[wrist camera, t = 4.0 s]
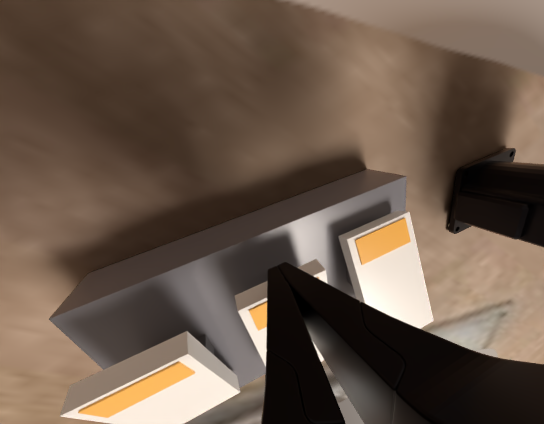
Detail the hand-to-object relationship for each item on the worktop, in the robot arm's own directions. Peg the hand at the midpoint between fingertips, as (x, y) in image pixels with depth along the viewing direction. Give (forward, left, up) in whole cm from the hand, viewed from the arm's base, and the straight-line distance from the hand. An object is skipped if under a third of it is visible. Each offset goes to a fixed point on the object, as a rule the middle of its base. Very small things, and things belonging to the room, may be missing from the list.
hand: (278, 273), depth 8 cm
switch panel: (0, +4, -5) cm, 6 cm away
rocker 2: (-6, +4, 0) cm, 7 cm away
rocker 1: (+6, +4, 0) cm, 7 cm away
